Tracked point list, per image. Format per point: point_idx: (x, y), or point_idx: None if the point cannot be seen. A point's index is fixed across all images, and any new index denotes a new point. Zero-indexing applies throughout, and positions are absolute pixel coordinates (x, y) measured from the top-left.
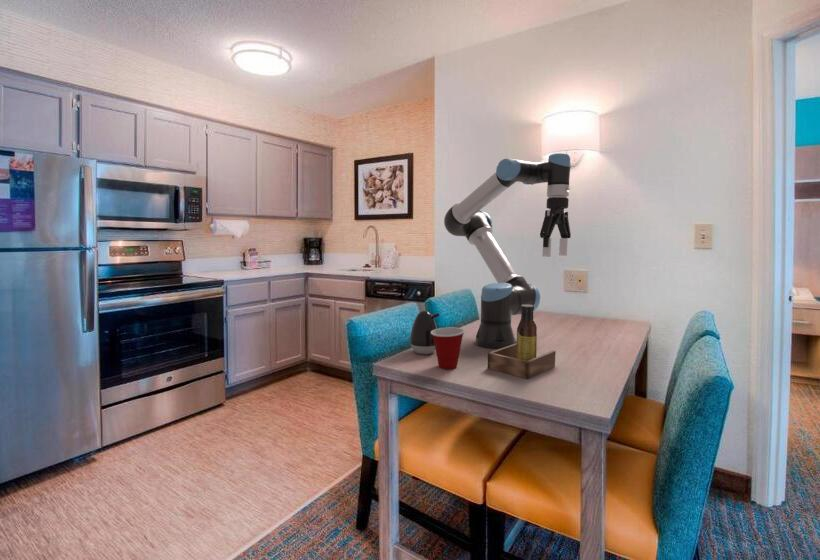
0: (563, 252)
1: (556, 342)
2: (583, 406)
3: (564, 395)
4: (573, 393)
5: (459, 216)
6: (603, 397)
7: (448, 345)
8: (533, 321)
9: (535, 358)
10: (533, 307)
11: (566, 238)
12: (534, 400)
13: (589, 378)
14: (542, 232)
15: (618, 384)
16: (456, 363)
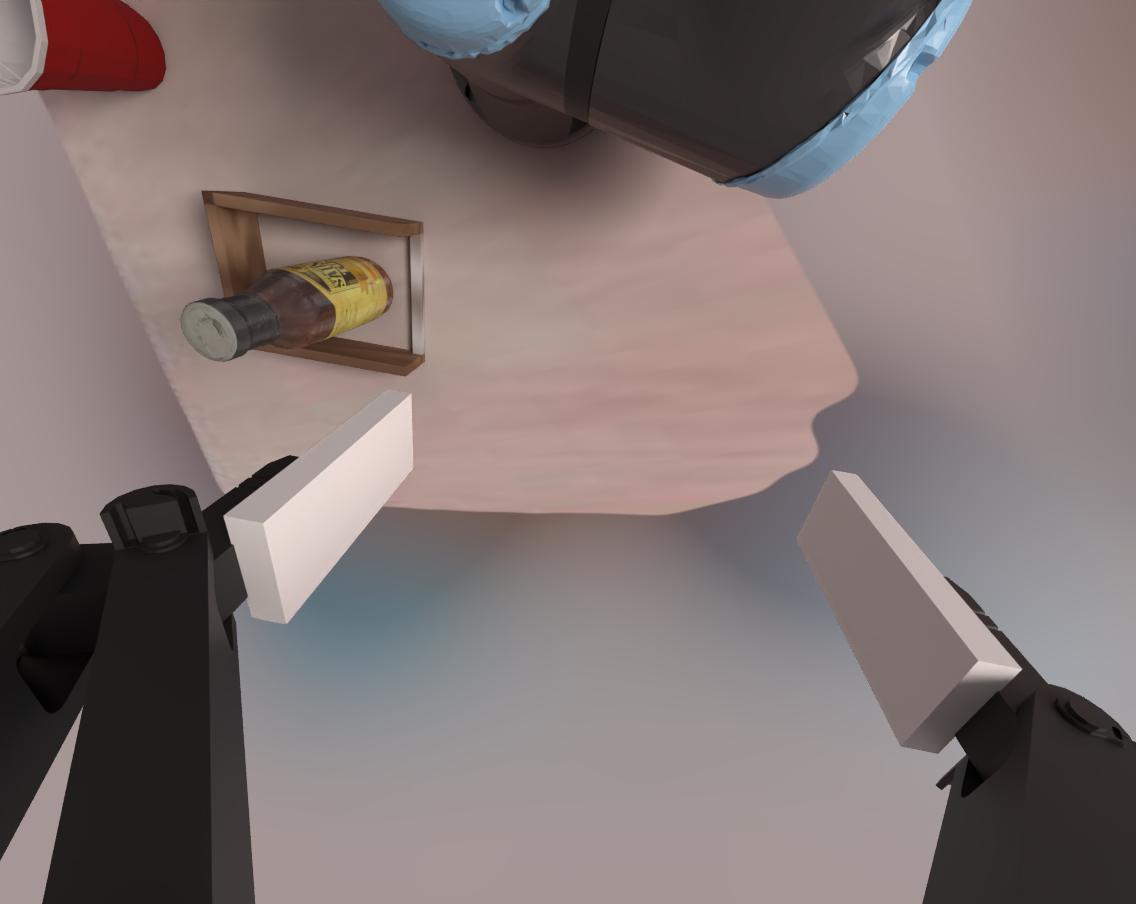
0: (820, 539)
1: (729, 283)
2: (235, 467)
3: (252, 429)
4: (277, 441)
5: None
6: None
7: (3, 57)
8: (271, 344)
9: (284, 350)
10: (222, 360)
11: (904, 740)
12: (176, 388)
13: None
14: (3, 602)
15: (402, 504)
16: (133, 90)
